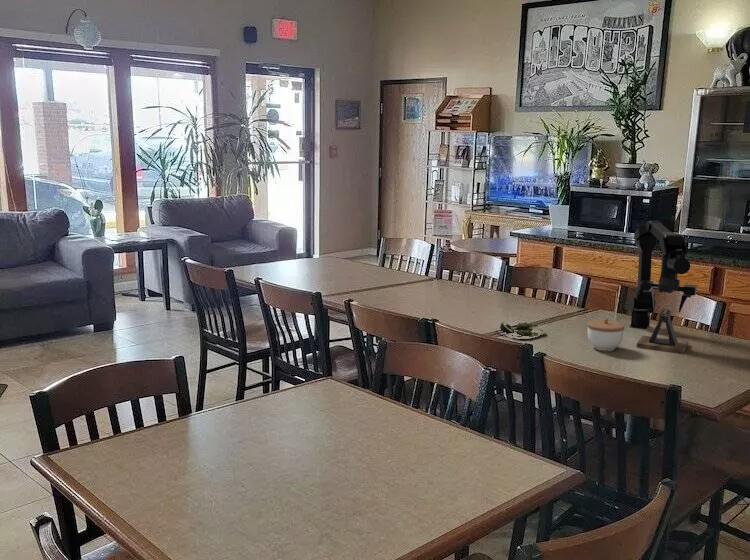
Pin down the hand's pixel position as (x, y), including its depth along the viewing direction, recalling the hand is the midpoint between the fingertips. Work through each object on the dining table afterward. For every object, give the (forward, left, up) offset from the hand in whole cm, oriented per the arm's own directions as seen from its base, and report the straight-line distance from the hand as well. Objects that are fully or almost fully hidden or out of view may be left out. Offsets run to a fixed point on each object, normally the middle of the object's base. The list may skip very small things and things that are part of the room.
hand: (666, 310), depth 259 cm
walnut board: (0, -3, -13) cm, 13 cm away
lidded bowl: (-18, -16, -13) cm, 27 cm away
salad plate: (-51, -12, -13) cm, 54 cm away
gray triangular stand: (0, -3, -11) cm, 12 cm away
